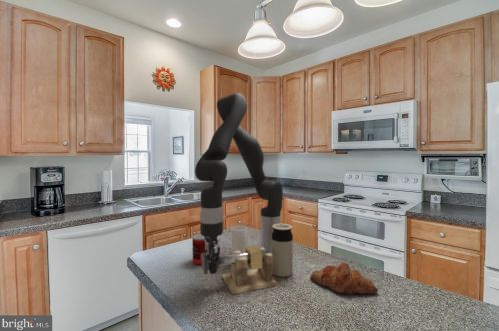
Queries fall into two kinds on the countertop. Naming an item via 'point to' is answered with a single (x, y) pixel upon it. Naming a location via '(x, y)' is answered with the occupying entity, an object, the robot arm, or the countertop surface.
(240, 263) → the block
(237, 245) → the drinking glass
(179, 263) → the countertop surface
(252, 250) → the block
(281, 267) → the travel mug
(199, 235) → the canned food
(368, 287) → the pastry
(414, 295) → the countertop surface
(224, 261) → the shaft
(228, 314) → the countertop surface
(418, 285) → the countertop surface
